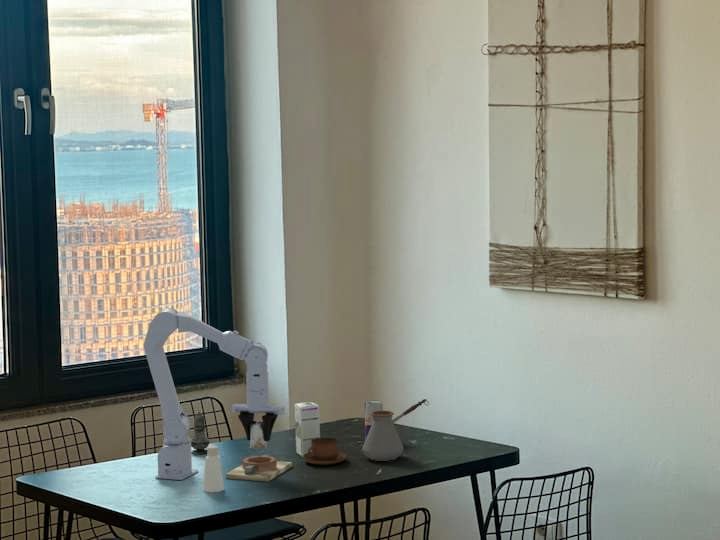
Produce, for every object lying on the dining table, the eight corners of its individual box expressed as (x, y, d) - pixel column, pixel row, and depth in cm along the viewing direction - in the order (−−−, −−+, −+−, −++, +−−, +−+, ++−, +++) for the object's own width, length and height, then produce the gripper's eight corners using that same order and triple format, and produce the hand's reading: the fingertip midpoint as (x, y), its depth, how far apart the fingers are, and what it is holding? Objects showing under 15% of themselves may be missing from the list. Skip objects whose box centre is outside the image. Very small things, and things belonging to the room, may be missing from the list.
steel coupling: (270, 445, 302) (269, 420, 302) (261, 449, 298) (260, 423, 298) (256, 444, 304) (255, 419, 304) (247, 448, 300) (246, 422, 300)
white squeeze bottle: (209, 494, 282) (208, 450, 281) (198, 489, 286) (197, 446, 285) (228, 490, 285) (227, 447, 284) (217, 485, 289) (216, 443, 288)
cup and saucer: (335, 469, 304) (334, 446, 304) (295, 465, 309) (295, 443, 309) (353, 459, 315) (353, 437, 315) (315, 455, 320) (314, 434, 320)
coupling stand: (267, 481, 293) (267, 468, 292) (225, 478, 297) (225, 465, 296) (292, 466, 308) (291, 454, 307) (251, 463, 312) (251, 451, 311)
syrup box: (321, 455, 319) (320, 404, 318) (301, 457, 317) (300, 406, 316) (314, 451, 325) (313, 401, 324) (295, 453, 323) (293, 403, 322)
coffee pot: (377, 465, 307) (376, 411, 306) (354, 457, 316) (353, 404, 315) (440, 454, 318) (439, 401, 317) (416, 446, 328) (415, 395, 327)
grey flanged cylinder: (200, 455, 322) (198, 414, 321) (185, 453, 325) (184, 412, 324) (214, 451, 326) (213, 410, 325) (200, 449, 330) (199, 408, 329)
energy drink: (362, 440, 337) (362, 400, 336) (380, 439, 339) (379, 399, 338) (368, 444, 332) (367, 403, 331) (385, 442, 334) (385, 402, 333)
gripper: (288, 388, 302) (289, 438, 303) (239, 385, 307) (240, 435, 308) (278, 392, 295) (279, 444, 296) (227, 390, 300) (229, 441, 301)
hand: (258, 440), depth 301 cm, fingers closed on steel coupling, 4 cm apart
